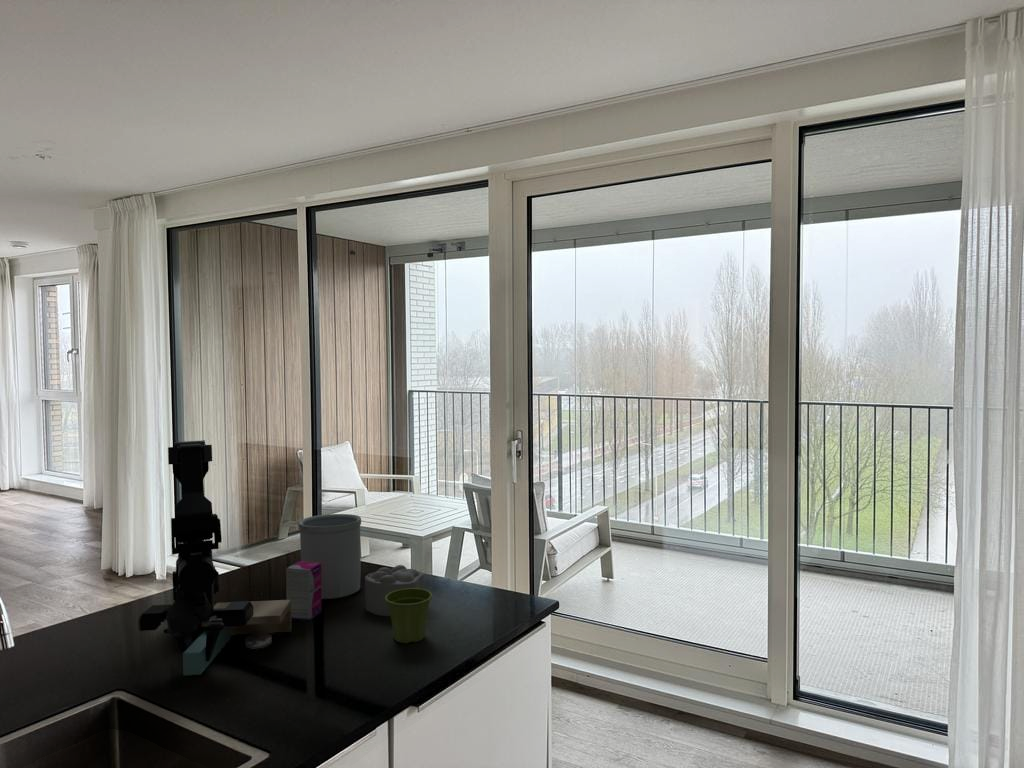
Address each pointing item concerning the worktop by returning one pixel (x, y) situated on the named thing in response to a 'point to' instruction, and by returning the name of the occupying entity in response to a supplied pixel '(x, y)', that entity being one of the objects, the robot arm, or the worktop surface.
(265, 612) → the oak plinth shelf
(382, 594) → the lumpy-topped squat cylinder
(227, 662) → the worktop surface
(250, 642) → the steel token
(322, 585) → the utensil holder
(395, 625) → the plant pot
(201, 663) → the dark grey-teal rectangular block
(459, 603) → the worktop surface
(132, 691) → the worktop surface
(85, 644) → the worktop surface
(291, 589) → the supplement box
